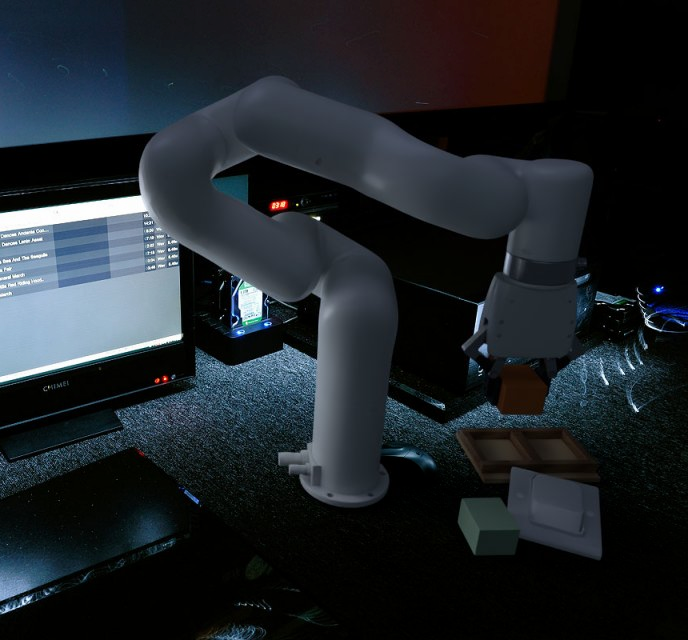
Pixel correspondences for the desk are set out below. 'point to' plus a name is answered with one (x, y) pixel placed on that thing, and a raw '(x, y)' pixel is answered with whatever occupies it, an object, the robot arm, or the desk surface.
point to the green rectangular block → (488, 526)
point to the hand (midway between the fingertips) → (513, 399)
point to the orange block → (521, 391)
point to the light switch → (556, 512)
